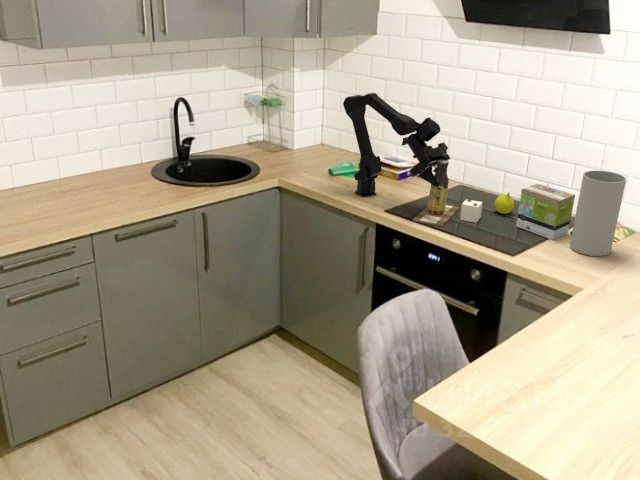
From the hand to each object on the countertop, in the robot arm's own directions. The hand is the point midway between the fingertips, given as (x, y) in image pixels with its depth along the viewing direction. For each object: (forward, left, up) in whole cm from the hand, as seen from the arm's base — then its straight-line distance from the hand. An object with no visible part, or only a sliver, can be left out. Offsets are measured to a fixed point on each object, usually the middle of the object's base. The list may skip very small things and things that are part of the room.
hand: (442, 184), depth 231 cm
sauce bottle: (0, +1, -11) cm, 12 cm away
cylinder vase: (+25, -46, -12) cm, 54 cm away
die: (+8, -7, -12) cm, 16 cm away
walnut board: (0, +1, -12) cm, 12 cm away
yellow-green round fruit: (+23, -8, -12) cm, 28 cm away
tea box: (+23, -27, -12) cm, 38 cm away
